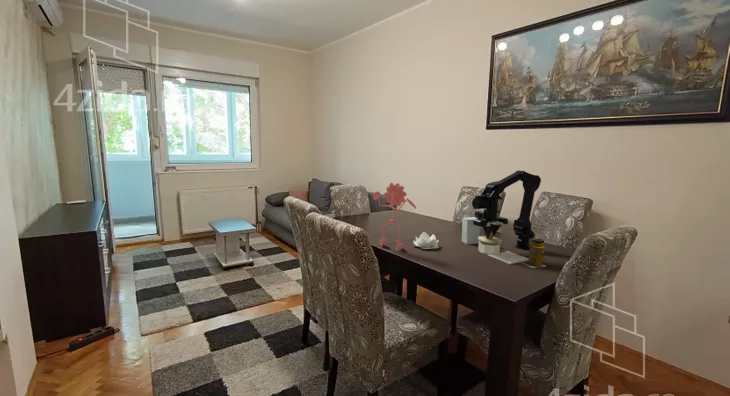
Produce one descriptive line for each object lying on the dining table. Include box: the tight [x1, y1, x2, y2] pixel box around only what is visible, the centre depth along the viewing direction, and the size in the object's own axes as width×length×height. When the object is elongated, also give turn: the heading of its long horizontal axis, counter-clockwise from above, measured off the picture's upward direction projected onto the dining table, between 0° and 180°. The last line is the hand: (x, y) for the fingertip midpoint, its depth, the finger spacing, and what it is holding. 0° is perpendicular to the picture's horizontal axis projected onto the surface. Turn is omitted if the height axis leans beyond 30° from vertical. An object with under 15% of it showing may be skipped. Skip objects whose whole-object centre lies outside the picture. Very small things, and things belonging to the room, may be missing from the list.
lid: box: [478, 232, 503, 244], centre depth 172 cm, size 12×12×4 cm
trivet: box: [486, 250, 529, 265], centre depth 164 cm, size 14×14×1 cm
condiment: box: [520, 237, 547, 269], centre depth 154 cm, size 7×8×12 cm
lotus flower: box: [413, 231, 440, 250], centre depth 178 cm, size 14×15×9 cm
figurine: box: [372, 182, 417, 252], centre depth 175 cm, size 15×26×35 cm, turn 57°
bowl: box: [478, 241, 501, 255], centre depth 173 cm, size 10×10×5 cm
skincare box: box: [461, 216, 481, 245], centre depth 187 cm, size 8×6×15 cm
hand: (489, 237), depth 172 cm, fingers closed on lid, 3 cm apart
